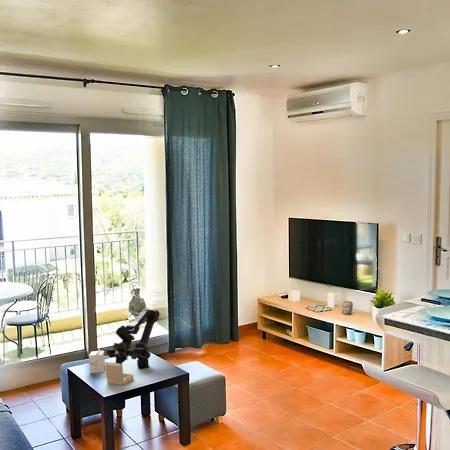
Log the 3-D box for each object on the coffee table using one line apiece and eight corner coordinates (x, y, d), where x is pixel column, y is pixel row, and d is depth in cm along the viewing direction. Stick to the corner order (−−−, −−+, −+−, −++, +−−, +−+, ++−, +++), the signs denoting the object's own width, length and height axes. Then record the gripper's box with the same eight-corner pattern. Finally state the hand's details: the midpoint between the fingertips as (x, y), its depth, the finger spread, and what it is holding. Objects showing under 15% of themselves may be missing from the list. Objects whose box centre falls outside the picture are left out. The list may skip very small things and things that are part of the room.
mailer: (117, 377, 308) (116, 372, 308) (133, 379, 303) (133, 374, 303) (107, 383, 299) (106, 378, 299) (123, 385, 294) (123, 380, 294)
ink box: (92, 368, 325) (90, 348, 324) (105, 367, 326) (104, 347, 325) (89, 373, 317) (88, 352, 316) (103, 372, 317) (101, 351, 316)
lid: (105, 361, 298) (104, 362, 297) (122, 363, 293) (121, 364, 292) (106, 378, 299) (105, 378, 298) (123, 380, 294) (122, 380, 293)
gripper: (107, 335, 305) (97, 359, 296) (133, 338, 297) (123, 362, 288) (116, 344, 313) (106, 367, 304) (141, 346, 305) (132, 370, 296)
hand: (116, 367), depth 298 cm, fingers closed
